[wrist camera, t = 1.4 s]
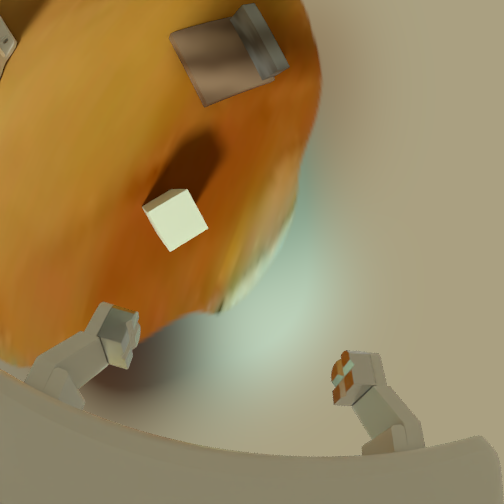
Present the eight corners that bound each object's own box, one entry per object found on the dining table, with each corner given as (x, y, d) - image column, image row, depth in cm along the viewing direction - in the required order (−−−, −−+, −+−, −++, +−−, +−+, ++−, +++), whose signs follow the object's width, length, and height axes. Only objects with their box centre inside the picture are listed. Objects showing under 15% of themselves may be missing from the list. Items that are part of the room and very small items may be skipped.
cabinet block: (141, 206, 35) (147, 212, 26) (171, 189, 36) (187, 189, 27) (158, 236, 37) (170, 251, 28) (187, 218, 38) (208, 228, 29)
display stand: (168, 38, 31) (177, 17, 26) (236, 19, 34) (252, 0, 28) (204, 107, 35) (218, 94, 30) (270, 82, 38) (291, 70, 33)
